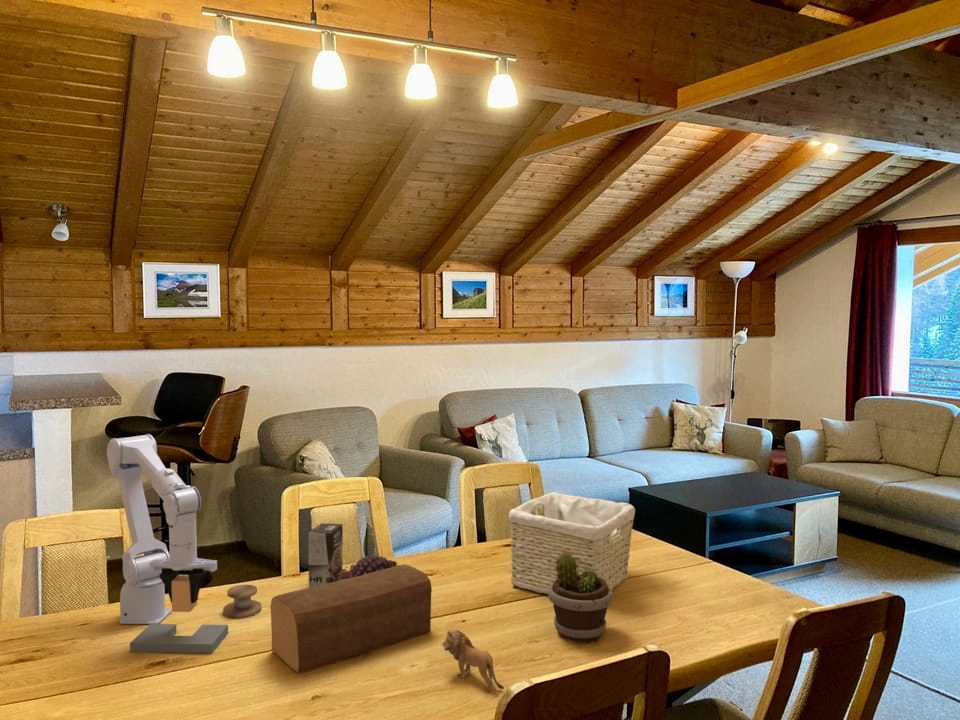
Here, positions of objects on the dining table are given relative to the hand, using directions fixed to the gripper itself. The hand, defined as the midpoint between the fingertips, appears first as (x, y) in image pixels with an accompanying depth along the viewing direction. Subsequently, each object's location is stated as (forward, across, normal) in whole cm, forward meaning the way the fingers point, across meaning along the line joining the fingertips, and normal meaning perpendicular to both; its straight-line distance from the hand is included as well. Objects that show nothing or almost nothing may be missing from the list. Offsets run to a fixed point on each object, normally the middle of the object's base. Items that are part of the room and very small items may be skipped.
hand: (184, 601), depth 173 cm
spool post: (+9, +8, +16) cm, 20 cm away
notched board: (+9, 0, -2) cm, 9 cm away
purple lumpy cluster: (+9, +38, +29) cm, 48 cm away
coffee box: (+9, +25, +33) cm, 42 cm away
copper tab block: (+2, 0, 0) cm, 2 cm away
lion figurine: (+9, +65, -17) cm, 68 cm away
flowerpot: (+9, +90, +5) cm, 90 cm away
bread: (+9, +38, -1) cm, 39 cm away
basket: (+9, +92, +37) cm, 99 cm away
